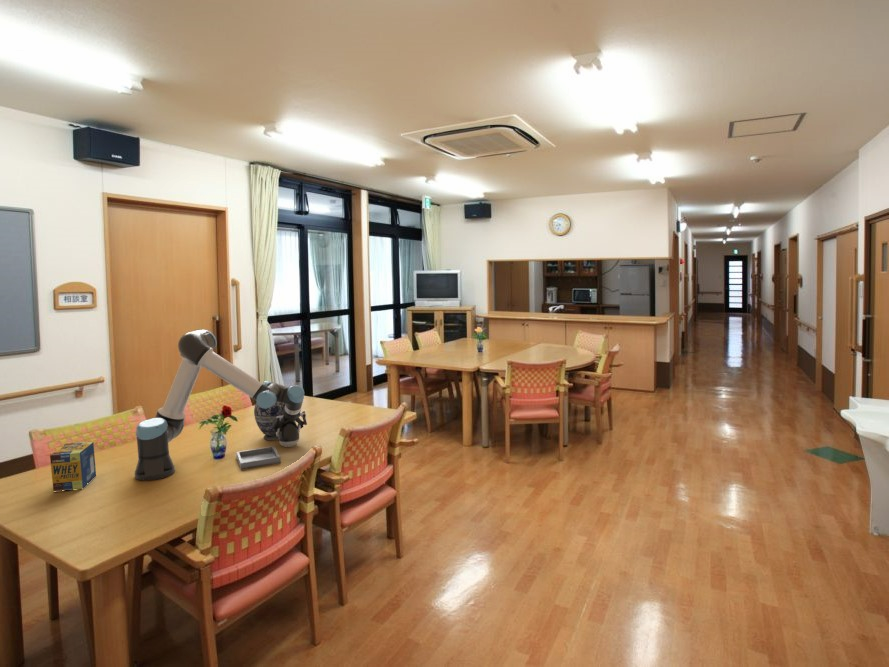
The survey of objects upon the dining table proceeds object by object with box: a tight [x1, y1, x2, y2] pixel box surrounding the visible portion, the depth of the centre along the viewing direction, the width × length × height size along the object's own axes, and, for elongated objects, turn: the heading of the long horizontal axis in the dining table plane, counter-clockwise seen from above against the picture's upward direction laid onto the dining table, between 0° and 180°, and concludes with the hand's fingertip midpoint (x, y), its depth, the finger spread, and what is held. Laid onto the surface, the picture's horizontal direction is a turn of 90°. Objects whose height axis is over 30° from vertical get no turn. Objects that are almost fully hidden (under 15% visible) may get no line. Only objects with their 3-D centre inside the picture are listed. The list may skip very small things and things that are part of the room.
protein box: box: [49, 441, 97, 491], centre depth 217 cm, size 10×15×16 cm
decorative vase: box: [253, 401, 285, 441], centre depth 276 cm, size 21×19×28 cm
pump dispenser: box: [278, 420, 300, 448], centre depth 263 cm, size 10×10×15 cm
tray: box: [235, 445, 281, 471], centre depth 243 cm, size 17×17×3 cm
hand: (287, 432), depth 266 cm, fingers closed on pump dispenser, 10 cm apart
